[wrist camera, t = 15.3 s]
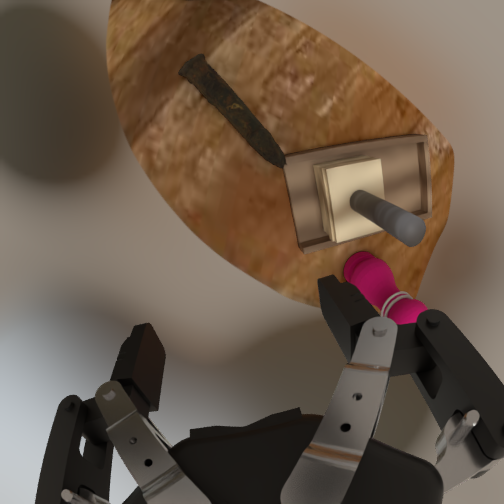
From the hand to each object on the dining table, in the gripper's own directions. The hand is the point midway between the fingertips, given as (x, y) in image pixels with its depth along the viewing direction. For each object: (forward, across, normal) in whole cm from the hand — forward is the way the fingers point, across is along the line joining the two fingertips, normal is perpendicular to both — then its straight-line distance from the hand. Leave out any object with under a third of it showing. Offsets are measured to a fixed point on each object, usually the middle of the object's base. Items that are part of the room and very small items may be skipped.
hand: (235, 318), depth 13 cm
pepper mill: (+28, -19, +18) cm, 39 cm away
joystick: (+27, -17, +4) cm, 32 cm away
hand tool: (+28, -5, -10) cm, 31 cm away
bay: (+28, -21, +4) cm, 35 cm away
